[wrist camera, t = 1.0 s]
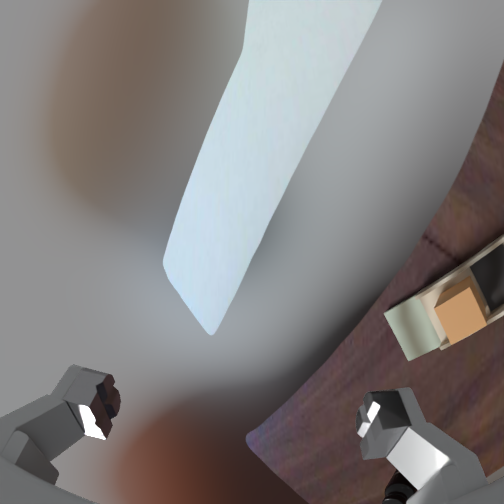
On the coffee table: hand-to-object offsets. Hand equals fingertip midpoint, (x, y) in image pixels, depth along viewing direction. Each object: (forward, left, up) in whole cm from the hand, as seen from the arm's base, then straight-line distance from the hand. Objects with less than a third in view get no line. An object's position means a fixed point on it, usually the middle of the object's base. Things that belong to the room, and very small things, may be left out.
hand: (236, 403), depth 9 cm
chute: (+1, +10, -45) cm, 46 cm away
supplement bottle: (+23, +41, -46) cm, 66 cm away
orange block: (0, +10, -44) cm, 45 cm away
